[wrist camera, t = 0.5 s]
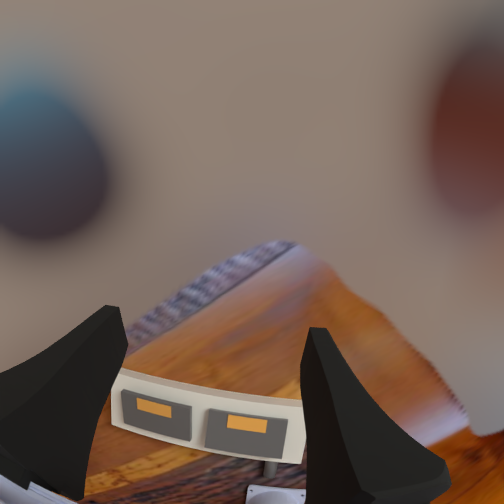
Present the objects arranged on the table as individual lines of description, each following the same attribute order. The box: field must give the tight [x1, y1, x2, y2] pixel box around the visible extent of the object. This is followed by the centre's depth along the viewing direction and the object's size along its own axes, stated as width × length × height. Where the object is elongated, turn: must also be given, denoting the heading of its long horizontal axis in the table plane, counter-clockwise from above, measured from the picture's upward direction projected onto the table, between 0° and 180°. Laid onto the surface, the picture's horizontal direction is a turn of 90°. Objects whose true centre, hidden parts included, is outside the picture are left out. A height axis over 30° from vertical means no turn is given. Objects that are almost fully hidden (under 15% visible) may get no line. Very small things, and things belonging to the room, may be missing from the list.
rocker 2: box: [204, 408, 288, 459], centre depth 31 cm, size 5×9×1 cm, turn 84°
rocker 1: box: [121, 389, 192, 442], centre depth 33 cm, size 5×9×1 cm, turn 83°
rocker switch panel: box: [111, 368, 306, 478], centre depth 34 cm, size 12×25×3 cm, turn 83°
